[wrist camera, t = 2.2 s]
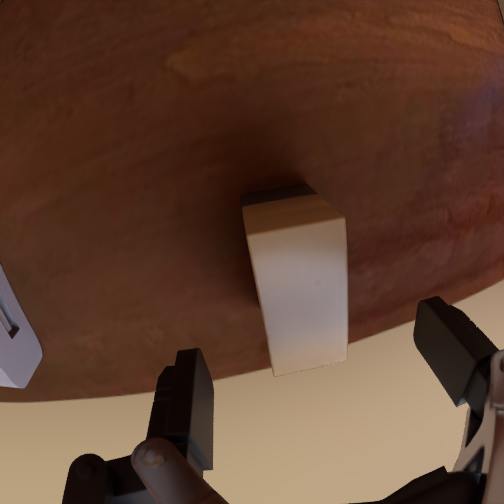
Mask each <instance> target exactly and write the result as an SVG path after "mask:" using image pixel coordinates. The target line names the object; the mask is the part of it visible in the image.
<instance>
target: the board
mask: <svg viewBox="0 0 504 504" xmlns="http://www.w3.org/2000/svg"><path fill="white" fill-rule="evenodd" d="M498 3H499V7H500V10H501V13H502V17H503V20H504V0H498Z"/></svg>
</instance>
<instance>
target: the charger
mask: <svg viewBox="0 0 504 504" xmlns="http://www.w3.org/2000/svg"><path fill="white" fill-rule="evenodd" d="M41 359H42V350H41V346H40V343H39V341H38V339H37V337H36V335H35V333H34V331H33V329H32V328H31V326H30V324H29V322H28V320H27V318H26V317H25V315H24V313H23V311H22V309H21V307H20V305H19V303H18V301H17V299H16V297H15V295H14V293H13V291H12V289H11V287H10V284H9V282H8V280H7V278H6V276H5V273H4V271H3V269H2V266H1V264H0V386H5V387H14V388H25V387H26V386H27V384H28V382H29V380H30V378H31V377H32V375H33V373H34V371H35V369H36V368H37V366H38V364H39V362H40V361H41Z"/></svg>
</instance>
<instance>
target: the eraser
mask: <svg viewBox="0 0 504 504" xmlns="http://www.w3.org/2000/svg"><path fill="white" fill-rule="evenodd" d="M240 200H241V207H242V213H243V219H244V226H245V232H246V238H247V243H248V248H249V253H250V259H251V264H252V269H253V274H254V279H255V284H256V289H257V294H258V300H259V305H260V310H261V315H262V320H263V325H264V330H265V335H266V340H267V345H268V350H269V356H270V361H271V366H272V370H273V375H274V376H275V377H276V376H282V375H287V374H292V373H297V372H302V371H306V370H311V369H315V368H319V367H324V366H327V365H332V364H336V363H340V362H344V361H346V360H347V354H348V262H347V238H346V221H345V217H344V216H343V215H342V214H341V213H340V212H338V211H337V210H336V209H335V208H334V207H333V206H332V205H331V204H329V203H328V202H327V201H326V200H325V199H324V198H323V197H322V196H320V195H319V194H318V193H317V192H316V191H315V190H314V189H312V188H311V187H310V186H309V185H307V184H306V185H300V186H294V187H288V188H282V189H276V190H270V191H265V192H259V193H254V194H248V195H243V196H240Z"/></svg>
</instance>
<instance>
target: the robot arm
mask: <svg viewBox="0 0 504 504" xmlns="http://www.w3.org/2000/svg"><path fill="white" fill-rule="evenodd" d="M413 337H414V342H415V345H416V347H417V349H418V350H419V352H420V353H421V355H422V356H423V357H424V359H425V360H426V362H427V363H428V365H429V366H430V368H431V369H432V371H433V372H434V374H435V375H436V377H437V378H438V379H439V381H440V382H441V384H442V386H443V387H444V388H445V390H446V392H447V393H448V395H449V396H450V398H451V399H452V401H453V402H454V404H455V406H456V407H458V406H460V405H462V404H464V403H466V402H467V403H468V404H469V408H468V410H467V416H466V422H465V429H464V435H463V441H462V445H461V451H460V454H459V457H458V459H457V461H456V463H455V465H454V468H453V471H452V472H447V471H446V469H445V467H444V466H442V467H440V468H438V469H436V470H434V471H432V472H429V473H427V474H425V475H423V476H420V477H418V478H416V479H414V480H412V481H411V482H409V483H408V484H406V485H405V486H403V487H402V488H400V489H399V490H397V491H396V492H394V493H393V494H391V495H390V496H388V497H387V498H385V499H383V500H380V501H374V502H363V503H350V504H504V349H503V350H499V349H498V348H497V347H496V346H495V345H494V344H493V343H492V342H491V341H490V340H489V338H487V336H486V335H485V334H484V333H483V332H482V331H481V330H480V329H479V328H478V327H476V325H475V324H474V323H473V322H472V321H470V318H469V317H467V315H466V314H465V313H464V312H463V311H461V310H459V309H457V308H456V307H454V306H452V305H449V306H448V305H447V304H446V303H445V302H444V301H443V300H442V299H441V298H440V297H439V296H434V297H431V298H428V299H425V300H421V301H420V302H419V303H418V307H417V314H416V321H415V327H414V333H413ZM213 413H214V388H213V382H212V378H211V376H210V373H209V370H208V368H207V365H206V362H205V360H204V357H203V354H202V352H201V350H200V348H194V349H186V350H179V351H178V352H177V356H176V362H175V366H166V367H165V369H164V370H163V372H162V373H161V374H160V376H159V377H158V381H157V386H156V392H155V396H154V402H153V406H152V411H151V416H150V421H149V427H148V432H147V437H146V440H145V441H143V442H141V443H140V444H139V445H137V446H136V448H135V449H134V451H133V453H132V454H131V455H129V456H126V457H122V458H117V459H113V460H109V461H104V460H103V459H102V458H101V457H100V456H98V455H95V454H84V455H81V456H79V457H78V458H76V459H75V460H74V461H73V462H72V464H71V466H70V468H69V472H68V477H67V481H66V485H65V490H64V495H63V500H62V504H229V503H228V502H227V501H226V500H224V498H223V497H222V496H221V495H219V494H218V493H217V492H216V491H215V490H214V489H213V488H212V487H211V486H209V484H208V483H207V482H206V481H205V480H204V479H203V471H204V470H213Z"/></svg>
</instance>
